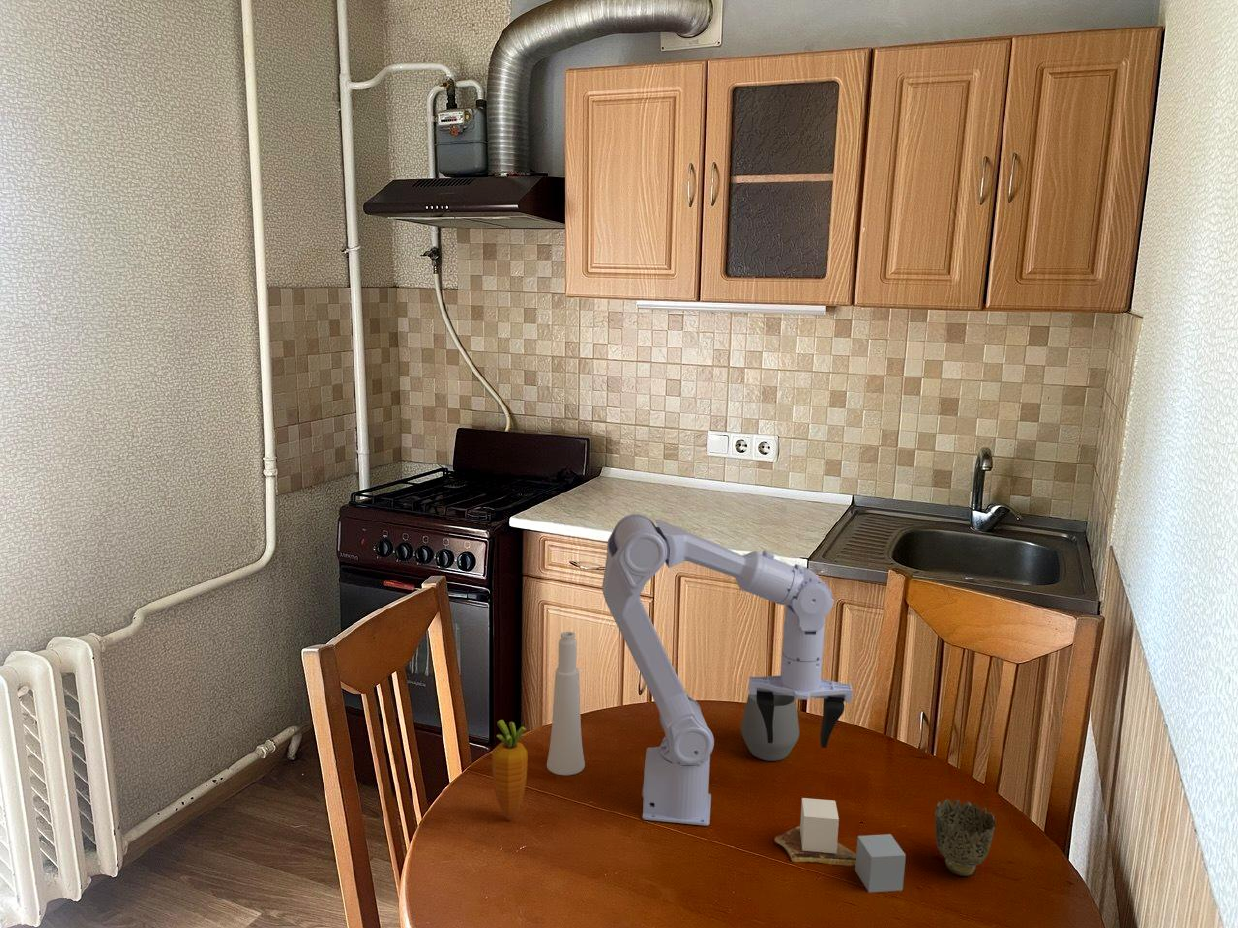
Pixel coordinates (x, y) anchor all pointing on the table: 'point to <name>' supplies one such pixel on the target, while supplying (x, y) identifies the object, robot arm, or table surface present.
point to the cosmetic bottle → (566, 713)
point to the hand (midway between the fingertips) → (796, 742)
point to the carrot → (509, 769)
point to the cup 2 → (963, 835)
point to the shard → (794, 849)
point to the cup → (782, 728)
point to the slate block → (880, 863)
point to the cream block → (819, 825)
